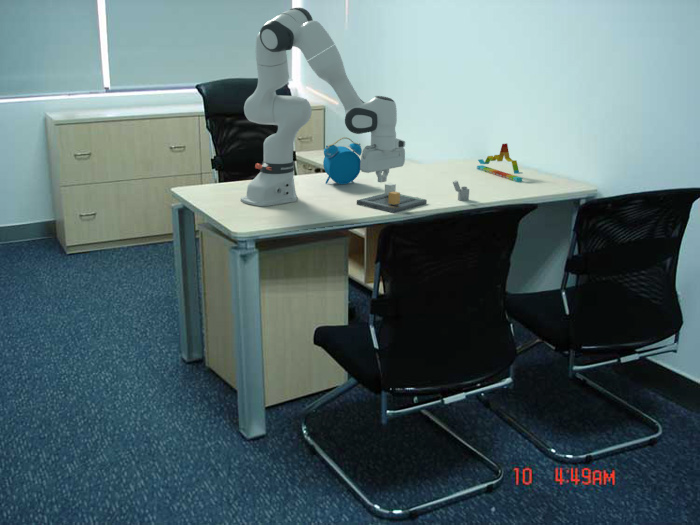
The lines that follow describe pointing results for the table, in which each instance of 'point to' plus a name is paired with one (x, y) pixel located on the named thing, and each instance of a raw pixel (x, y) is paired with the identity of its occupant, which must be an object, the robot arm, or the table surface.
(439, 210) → the table surface
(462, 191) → the lighter
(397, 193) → the orange wooden block
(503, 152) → the chart
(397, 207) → the dark grey tray
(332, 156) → the alarm clock
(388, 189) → the white small block
